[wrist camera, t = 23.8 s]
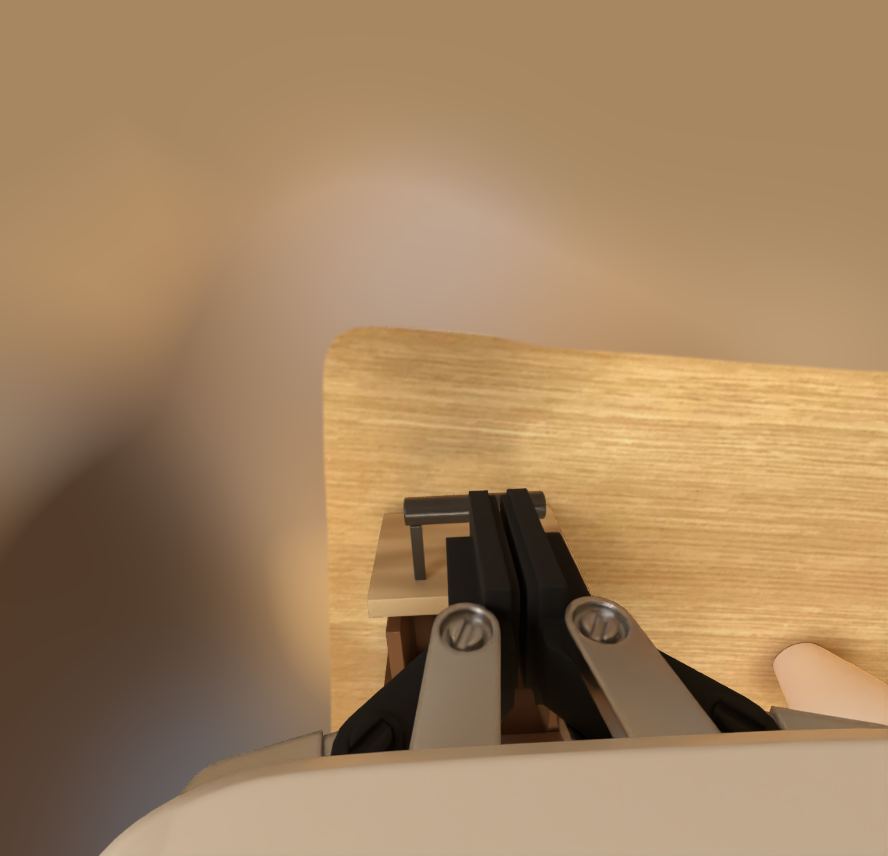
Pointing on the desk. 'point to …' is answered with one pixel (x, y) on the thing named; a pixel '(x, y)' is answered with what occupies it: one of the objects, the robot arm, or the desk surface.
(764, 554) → the desk surface
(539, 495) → the drawer
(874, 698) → the mug
